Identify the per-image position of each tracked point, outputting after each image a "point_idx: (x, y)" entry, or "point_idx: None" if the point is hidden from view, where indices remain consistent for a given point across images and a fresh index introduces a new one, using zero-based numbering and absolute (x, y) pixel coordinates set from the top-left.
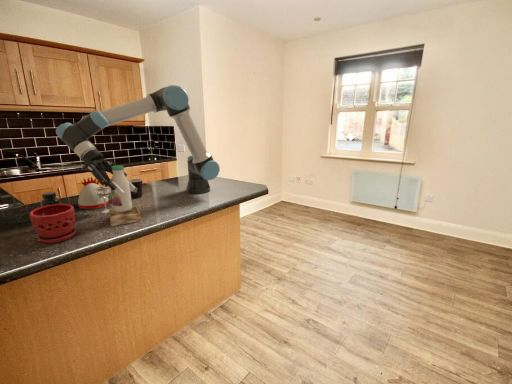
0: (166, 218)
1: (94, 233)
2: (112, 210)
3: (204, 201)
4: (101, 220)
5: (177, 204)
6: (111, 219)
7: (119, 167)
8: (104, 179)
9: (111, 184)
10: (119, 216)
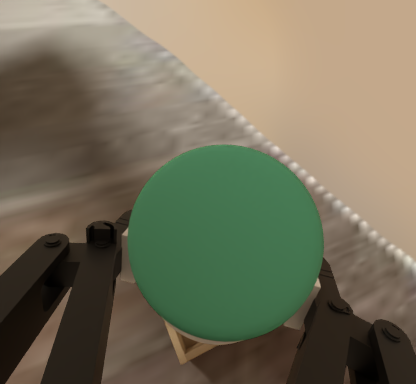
0: (215, 125)
1: None
2: (180, 343)
3: (50, 38)
4: (222, 378)
5: (63, 117)
6: None
7: (292, 172)
8: (398, 351)
9: (331, 287)
10: None
